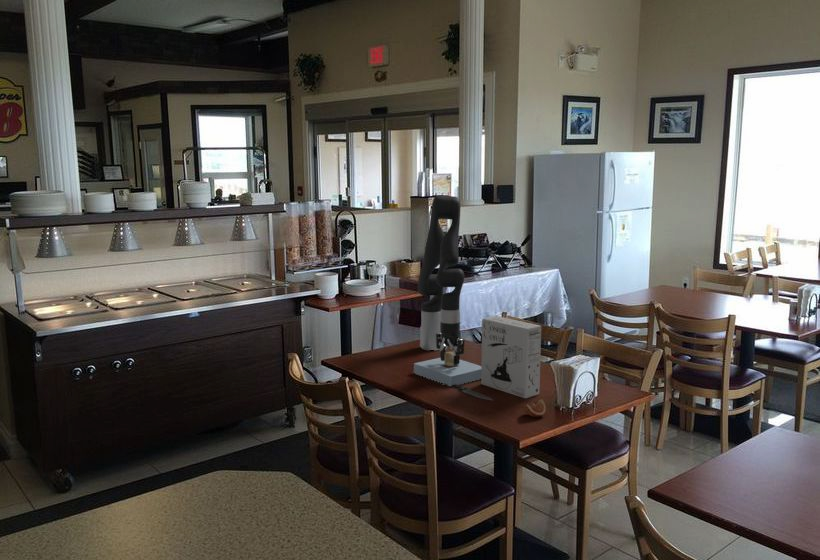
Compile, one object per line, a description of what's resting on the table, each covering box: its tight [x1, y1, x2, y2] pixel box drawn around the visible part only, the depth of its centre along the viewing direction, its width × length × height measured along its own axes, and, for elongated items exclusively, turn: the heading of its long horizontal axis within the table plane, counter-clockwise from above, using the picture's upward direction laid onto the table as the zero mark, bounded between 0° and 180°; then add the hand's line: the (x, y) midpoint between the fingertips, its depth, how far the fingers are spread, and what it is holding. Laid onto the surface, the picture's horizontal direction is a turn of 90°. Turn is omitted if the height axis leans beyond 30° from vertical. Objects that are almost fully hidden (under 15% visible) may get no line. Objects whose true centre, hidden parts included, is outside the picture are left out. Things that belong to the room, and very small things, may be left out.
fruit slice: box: [521, 398, 547, 418], centre depth 224 cm, size 8×7×5 cm
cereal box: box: [480, 315, 542, 399], centre depth 250 cm, size 22×8×25 cm, turn 40°
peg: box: [444, 351, 455, 368], centre depth 268 cm, size 4×4×9 cm
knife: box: [442, 383, 495, 401], centre depth 249 cm, size 26×1×5 cm
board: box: [413, 357, 481, 387], centre depth 268 cm, size 22×18×4 cm
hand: (449, 362), depth 268 cm, fingers open, 7 cm apart
